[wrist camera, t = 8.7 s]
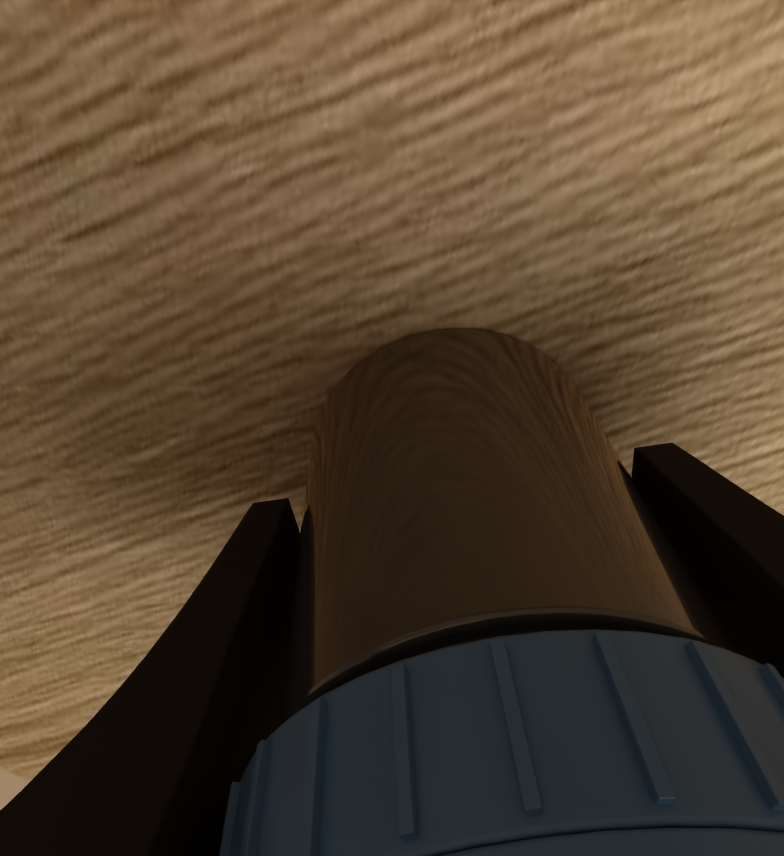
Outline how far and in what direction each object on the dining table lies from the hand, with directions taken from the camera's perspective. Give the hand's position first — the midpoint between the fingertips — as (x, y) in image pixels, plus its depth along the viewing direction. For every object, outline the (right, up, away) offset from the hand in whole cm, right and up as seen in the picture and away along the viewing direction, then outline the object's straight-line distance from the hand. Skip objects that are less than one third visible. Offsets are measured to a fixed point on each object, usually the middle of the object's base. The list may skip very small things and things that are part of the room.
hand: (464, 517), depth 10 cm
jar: (0, +1, +1) cm, 2 cm away
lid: (0, -3, -5) cm, 6 cm away
